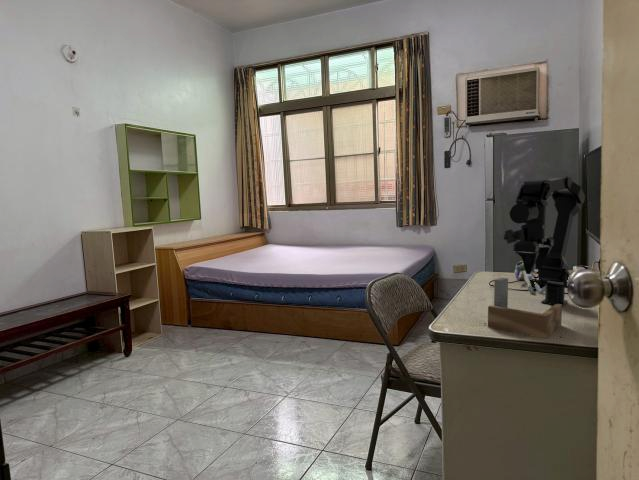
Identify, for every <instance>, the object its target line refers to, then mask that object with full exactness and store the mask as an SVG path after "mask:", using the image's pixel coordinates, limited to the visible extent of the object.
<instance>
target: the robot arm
mask: <svg viewBox="0 0 639 480" xmlns="http://www.w3.org/2000/svg"><path fill="white" fill-rule="evenodd" d="M549 197H551V198H552V199H553V200H552V201H554V203H553V204H554V208H555V210H556V212H557V215H556V216H557V217H556V221H555V225H554V229H553V234H552V236H546V229H547V228H548V224H547V223H546V220H547V219H546V218H547V217H546V214H547V206H549V202H547V200H548V198H549ZM585 200H586V196H585V193H584V190H583V189H582V187H581V185H579V184H577V183H576V182H574V181H573V179H572V177H571V176H569V175H568V176H567V175H565V176H560V175H559V176H554V177H553V178H548V179H526V180H524V181H523V183H522V184H521V187H520V189H519V191H518V194H517V197H516V200H515V203H516V204H514V205H513V206H512V207H511V208H510V211H509V218H510V219H511V221H512V222H513V223H516V224H522V225H521V226H520V229H519V230H515V231H514V230H513V229H512V228H511V229H507V230H505V232H504V234H503V240H505V241H506V244H507V245H509V244H512V243H513V246H512V247H513V252H515V253H516V254H517V255H518V256H519V257H520V258H521V261H522V260H523V264H524V267H525V271H526V274H531V271H532V269H533V267H534V268H535V269H536V270H537V277H538V278H539V279H538V283H539V284H538V285H544V286H545V291H544V292H545V293H544V299H543V300H541V303H542V304H547V305H552V306H554V305H555V304H562V307H563V306H565V304H568V300H567V299H565V293H566V292H565V291H566V288H568V287H567V280H568V277H569V275H571V274H570V273H571V272H570V271H569V264H568V262H567V260H566V255H567V249H568V244H569V239H570V235H571V229H572V225H573V220H574V217H575V216H576V215H577V214H578V213H579V212H580V211H581V209H582V206H583V204H584V203H585Z"/></svg>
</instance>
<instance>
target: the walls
mask: <svg viewBox="0 0 639 480" xmlns="http://www.w3.org/2000/svg"><path fill="white" fill-rule="evenodd" d="M562 315H563V306H562V304H555V305H552V306H551V307H549V308H548V309H547V310H546V311H544V312H543V313H540V312H533V311H527V310H521V309H517V308H510V307H508V308H504V307H498V306H494V305H488V306H487V328H490V329H491V328H492V329H496V330H501V331H507V332H511V333H515V334H521V335H527V336H532V337H536V338H543V339H547V338H549V336H550V334H551V335H552V334H553V333H554V332H555V331H556V330H557V329H559V328H560V327H561V326H562V321H563V320H562V318H563V317H562Z"/></svg>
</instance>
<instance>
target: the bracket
mask: <svg viewBox="0 0 639 480" xmlns="http://www.w3.org/2000/svg"><path fill="white" fill-rule="evenodd" d="M493 288H494V290H493V291H494V293H493V295H494V296H493V299H494V301H493V306H498V307H504V308H509V307H508V305H509V304H508V303H509V301H508V298H509V278H507V277H500V278H496V279H494V287H493Z"/></svg>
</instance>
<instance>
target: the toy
mask: <svg viewBox="0 0 639 480" xmlns="http://www.w3.org/2000/svg"><path fill="white" fill-rule="evenodd" d="M513 274H514V276H515V278H516V280H517V282H519V280H520V279H522V280H524V282H525V283H526V284H527V289H528V291H529V292H530V293H531V294H536V293H535V290H536V291H537V292H538V294H543V293H544V292H545V286H546V285H544V286H543V287H542V288H541V287H540V284H538V282H537V283H536V282H534V284H535V285H534V284H533V285H534V287H535V290H534V288H533V286H532V282H531V281H530V280H532V279H536V278H534V277H538V275H537V272H536V271H535V266H534V267H533V269H532V271H531V274H526V271H525V267H524V264H523V260H522V259H521V260H520V261H519V262H517V263H516V264H515V268H514V272H513Z"/></svg>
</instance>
